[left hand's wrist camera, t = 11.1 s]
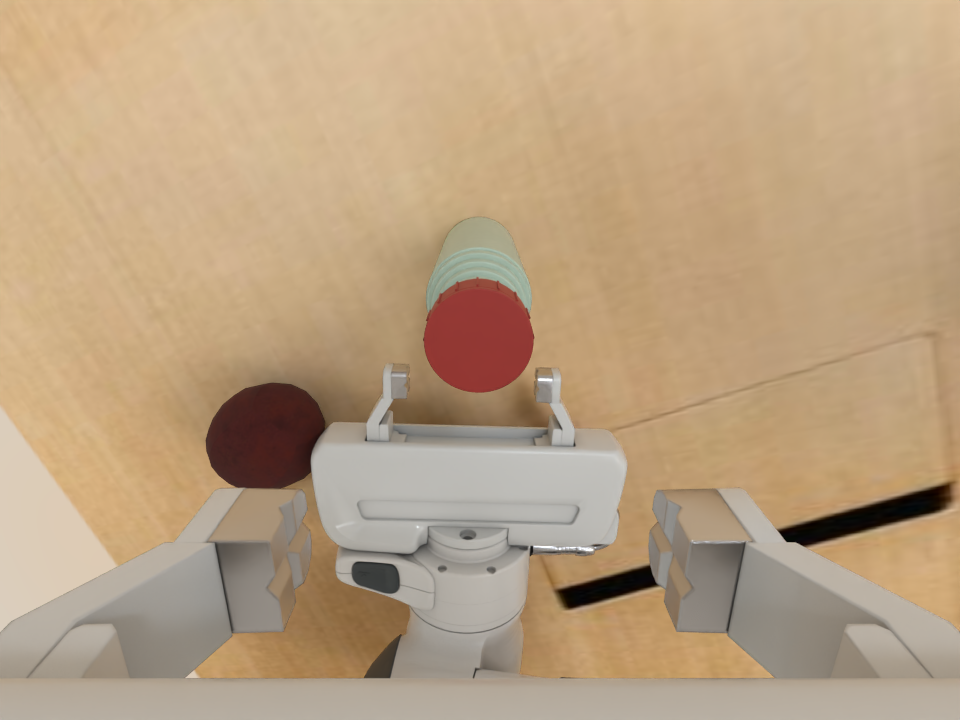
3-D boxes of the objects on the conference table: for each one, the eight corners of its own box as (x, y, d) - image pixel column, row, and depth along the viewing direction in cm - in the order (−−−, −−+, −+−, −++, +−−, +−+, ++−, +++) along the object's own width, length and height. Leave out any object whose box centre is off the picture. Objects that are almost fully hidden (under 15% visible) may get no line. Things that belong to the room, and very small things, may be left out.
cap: (408, 342, 22) (402, 358, 21) (462, 257, 21) (460, 266, 19) (494, 393, 23) (495, 412, 21) (550, 312, 22) (556, 325, 20)
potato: (215, 420, 42) (165, 470, 35) (274, 345, 40) (234, 384, 33) (296, 477, 44) (264, 535, 37) (357, 408, 42) (334, 456, 35)
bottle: (429, 265, 38) (387, 358, 21) (467, 202, 37) (457, 246, 20) (489, 303, 39) (498, 422, 22) (529, 242, 38) (572, 319, 20)
